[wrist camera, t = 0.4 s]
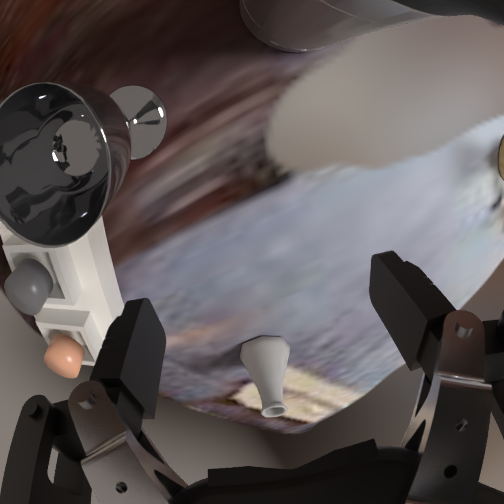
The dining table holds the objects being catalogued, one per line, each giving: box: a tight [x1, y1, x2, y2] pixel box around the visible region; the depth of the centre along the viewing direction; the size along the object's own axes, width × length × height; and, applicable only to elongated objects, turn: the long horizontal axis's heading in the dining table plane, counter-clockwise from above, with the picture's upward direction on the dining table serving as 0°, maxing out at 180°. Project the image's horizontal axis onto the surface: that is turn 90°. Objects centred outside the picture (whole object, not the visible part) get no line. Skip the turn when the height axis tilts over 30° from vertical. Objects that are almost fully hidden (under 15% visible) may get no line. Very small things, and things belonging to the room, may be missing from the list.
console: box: [0, 216, 124, 366], centre depth 27 cm, size 20×12×6 cm, turn 178°
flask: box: [239, 336, 290, 417], centre depth 35 cm, size 7×7×10 cm
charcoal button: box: [4, 258, 53, 315], centre depth 21 cm, size 4×4×3 cm
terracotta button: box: [44, 334, 85, 378], centre depth 26 cm, size 4×4×3 cm
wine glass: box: [0, 81, 167, 248], centre depth 16 cm, size 8×8×15 cm
